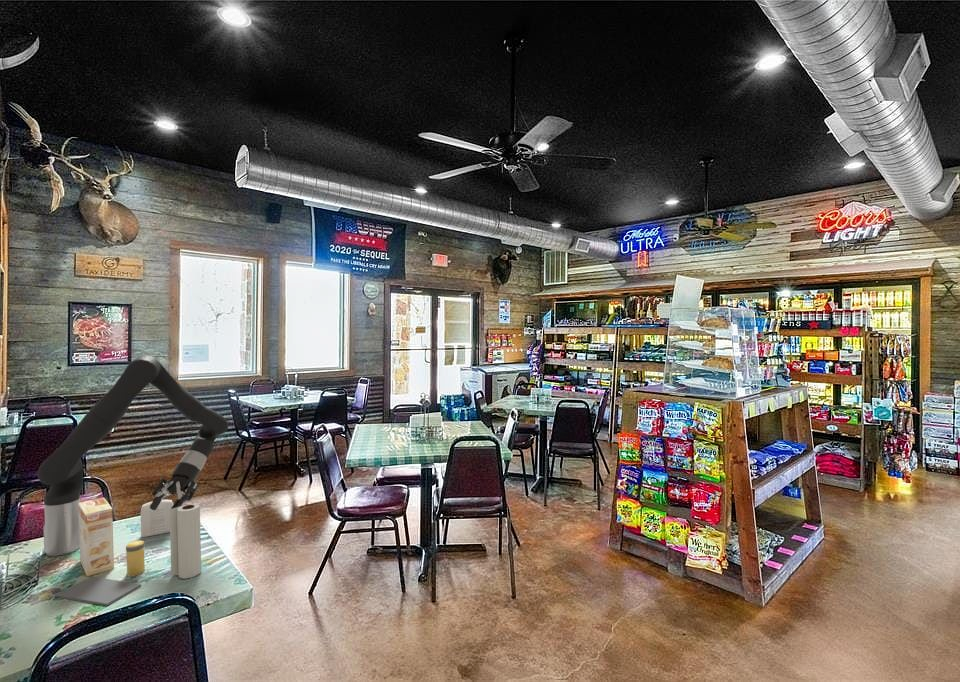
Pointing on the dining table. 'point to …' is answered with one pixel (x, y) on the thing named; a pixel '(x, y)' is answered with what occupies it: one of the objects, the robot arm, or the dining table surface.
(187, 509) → the paper towel roll
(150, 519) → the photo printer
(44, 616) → the dining table surface
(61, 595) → the slate mat
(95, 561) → the coffeecake box
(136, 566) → the yellow domed cylinder
